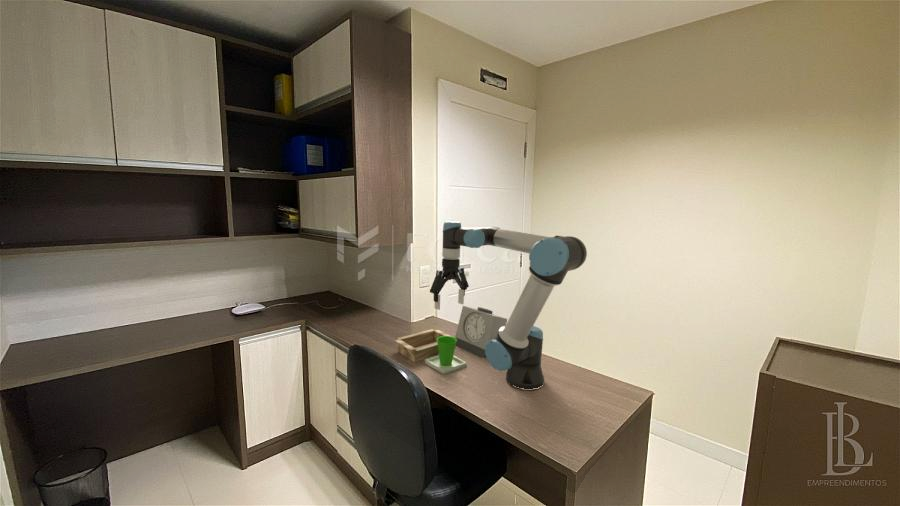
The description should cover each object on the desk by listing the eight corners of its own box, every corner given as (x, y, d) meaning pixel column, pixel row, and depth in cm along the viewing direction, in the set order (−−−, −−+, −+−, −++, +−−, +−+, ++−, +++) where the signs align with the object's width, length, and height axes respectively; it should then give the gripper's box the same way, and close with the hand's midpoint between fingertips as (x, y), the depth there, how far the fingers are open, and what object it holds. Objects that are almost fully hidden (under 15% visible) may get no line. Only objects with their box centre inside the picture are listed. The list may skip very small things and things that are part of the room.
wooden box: (456, 350, 175) (457, 338, 174) (413, 364, 159) (413, 351, 158) (434, 339, 188) (435, 328, 187) (392, 351, 172) (392, 339, 171)
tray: (466, 366, 159) (466, 362, 159) (443, 374, 151) (443, 370, 151) (447, 355, 169) (447, 352, 169) (425, 363, 161) (425, 359, 161)
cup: (454, 369, 155) (455, 344, 153) (433, 366, 156) (434, 342, 155) (457, 360, 163) (458, 337, 162) (438, 357, 165) (438, 334, 163)
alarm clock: (453, 345, 182) (454, 305, 179) (474, 337, 193) (476, 300, 190) (484, 359, 167) (486, 316, 164) (505, 350, 178) (507, 310, 175)
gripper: (466, 254, 166) (464, 299, 169) (422, 259, 149) (421, 309, 153) (477, 256, 160) (475, 303, 163) (433, 261, 144) (432, 313, 147)
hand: (449, 306), depth 158 cm, fingers open, 13 cm apart
